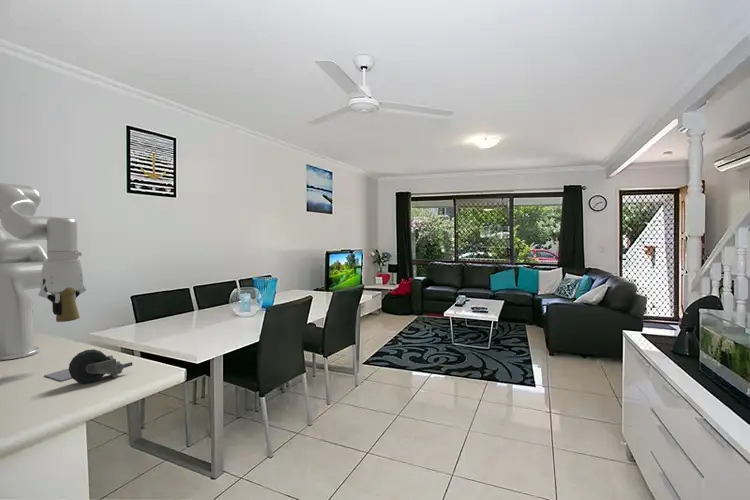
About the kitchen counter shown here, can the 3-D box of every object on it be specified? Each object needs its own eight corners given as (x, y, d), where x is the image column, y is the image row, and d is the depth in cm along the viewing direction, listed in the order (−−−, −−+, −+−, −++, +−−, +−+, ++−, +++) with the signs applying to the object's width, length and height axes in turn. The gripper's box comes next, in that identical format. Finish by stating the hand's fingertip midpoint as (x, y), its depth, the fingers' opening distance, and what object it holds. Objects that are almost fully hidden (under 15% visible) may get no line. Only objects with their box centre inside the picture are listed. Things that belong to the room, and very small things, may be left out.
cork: (66, 322, 122) (63, 288, 121) (51, 321, 123) (47, 287, 122) (84, 316, 128) (81, 284, 127) (69, 315, 129) (66, 283, 128)
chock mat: (44, 376, 115) (44, 375, 115) (85, 364, 125) (84, 364, 125) (61, 381, 111) (61, 380, 111) (102, 369, 121) (102, 368, 121)
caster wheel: (73, 392, 107) (135, 373, 117) (68, 358, 105) (131, 342, 116) (70, 386, 111) (130, 368, 121) (65, 353, 109) (126, 338, 120)
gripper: (83, 254, 132) (84, 308, 133) (25, 257, 118) (26, 317, 119) (96, 255, 129) (97, 310, 130) (38, 258, 115) (39, 320, 116)
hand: (63, 313), depth 124 cm, fingers closed on cork, 2 cm apart
